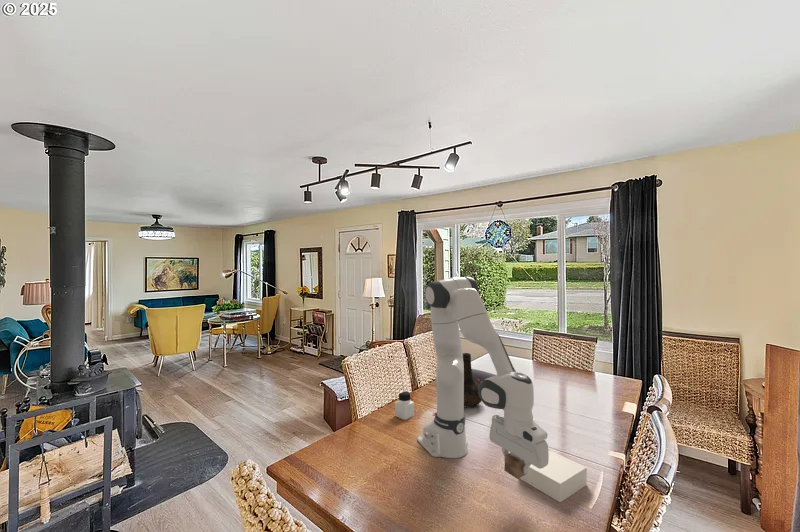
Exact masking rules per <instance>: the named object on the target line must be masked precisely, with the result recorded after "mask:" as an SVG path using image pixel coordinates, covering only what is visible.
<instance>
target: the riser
mask: <svg viewBox="0 0 800 532" xmlns="http://www.w3.org/2000/svg"><path fill="white" fill-rule="evenodd" d="M548 451H549V461H548V465H547V466H545V467H544V468H541V469H539V468H537V467H535V466H534V465H532V464H531V465H530V467H529V468H528V473H527V474H526V475H524V476H522V477H520V478H519V479H520V480H521V481H523V482H525V483H527V484H528V485H530V486H531V487H533V488H535V489H537V490H539V491H541V492H542V493H544V494H545V495H547V496H549V497H550V498H551V499H553V500H556V501H557V502H559V503H563V501H565V500H566V499H568V498H570V497H571V496H572V495H574V494H575V493H578V492H579V491H580V490H581V489H583V488H585V487H586V486H587V484H588V483H587V478H588V477H587V474H588V473H587V467H586V466H584V465H583V464H580V463H578V462H576V461H574V460H571V459H569V458H566V457H565V456H563V455H561V454H559V453H556V452H554V451H552V450H550V449H548Z"/></svg>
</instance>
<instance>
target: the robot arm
mask: <svg viewBox="0 0 800 532" xmlns="http://www.w3.org/2000/svg"><path fill="white" fill-rule="evenodd" d="M424 289H425V290H424V298H425V301H426V303H427V304H428V305H429V306H430V323H431V330H432V331H431V332H432V339H433V345H434V350H435V354H436V369H435V385H436V386H435V387H436V388H435V389H436V412H433V413H432V417H434V419H433V420H432V421H430V422H429V423H427V424H426V425H425V426H424V428H423V432H422V434H420V435H419V436H418V437H417V442H418V443H419V444H420V445H421V446H422V447H423V448H424V449H425V450H426V451H427V452H428V453H429V454H430V455H431V456H432V457H434V458H435V457H436V458H441V457H442V458H446V459H458V458H462V457H464V456H466V455H467V454H468V453H469V450H468V440H467V436H466V427H465V426H466V416H465V412H464V410H465V409H464V408H465V407H464V363H463V350H462V341H461V336H460V333H461V334H462V336H463V338H464V339H466V340H467V341H469V342H470V343H473V344H474V345H475V344H476V345H479V346H480V347H482V348H483V349H485V350H486V351H487V353H488V355H489V357H490V359H491V361H492V364H493V367H494V369H495V373H496V374H495V375H496V376H493V377H490V378H487V379H485V380H483V381H481V383H480V384H479V388H478V392H479V397H480V399H481V402H482V404H484V405H485V406H487V407H488V408H492V409H497V410H502V411H503V412H504V413H503V417H502V416H500V415H499V414H494V415H493V416H492V418H491V424H490V429H489V437H488V438H489V440H490V442H491V443H494V445H496V446H498V447H500V448H501V452H502V454H503V456H504V460H503V461H504V462H505V455H507V454H509V453H512V454H514V455H516V456H518V457H520V458H521V459H523V460H524V463H525V464H526V465H523V466H521V472H523V473H524V474H527V473H528V468H529V467H530V465H531V464H532V465H534V466H535V467H537V468H539V469H541V468H544V467H545V466H547V465H548V461H549V451H548V450H549V444H548V442H547V439H548V433H547V431H545V430H544V428H542V427H541V426H540V425H539V424H537V422H536V421H535V420H534V416H533V407H534V403H535V402H534V401H535V394H534V393H535V392H534V384H533V381H532V379H531V377H529V376H528V375H527V374H524V373H522V372H520V371H519V372H518V371H516V369H515V367H514V365H513V363H512V361H511V359H510V357H509V354H508V352H507V350H506V347H505V345H504V343H503V341H502V338H501V337H500V336H499V334H498V332H497V331H496V329H495V328H494V325H493V324H492V322H491V320H490V318H489V314H488V311H487V308H486V306H485V303H484V302H483V299H482V297H481V295H480V294H479V285H478V283H477V281H476V279H474V278H473V277H471V276H460V277H459V276H457V277H454V276H453V277H449V278H444V279H440V280H433V281H430V282H429V283H427V284H426V286H425V288H424Z"/></svg>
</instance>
